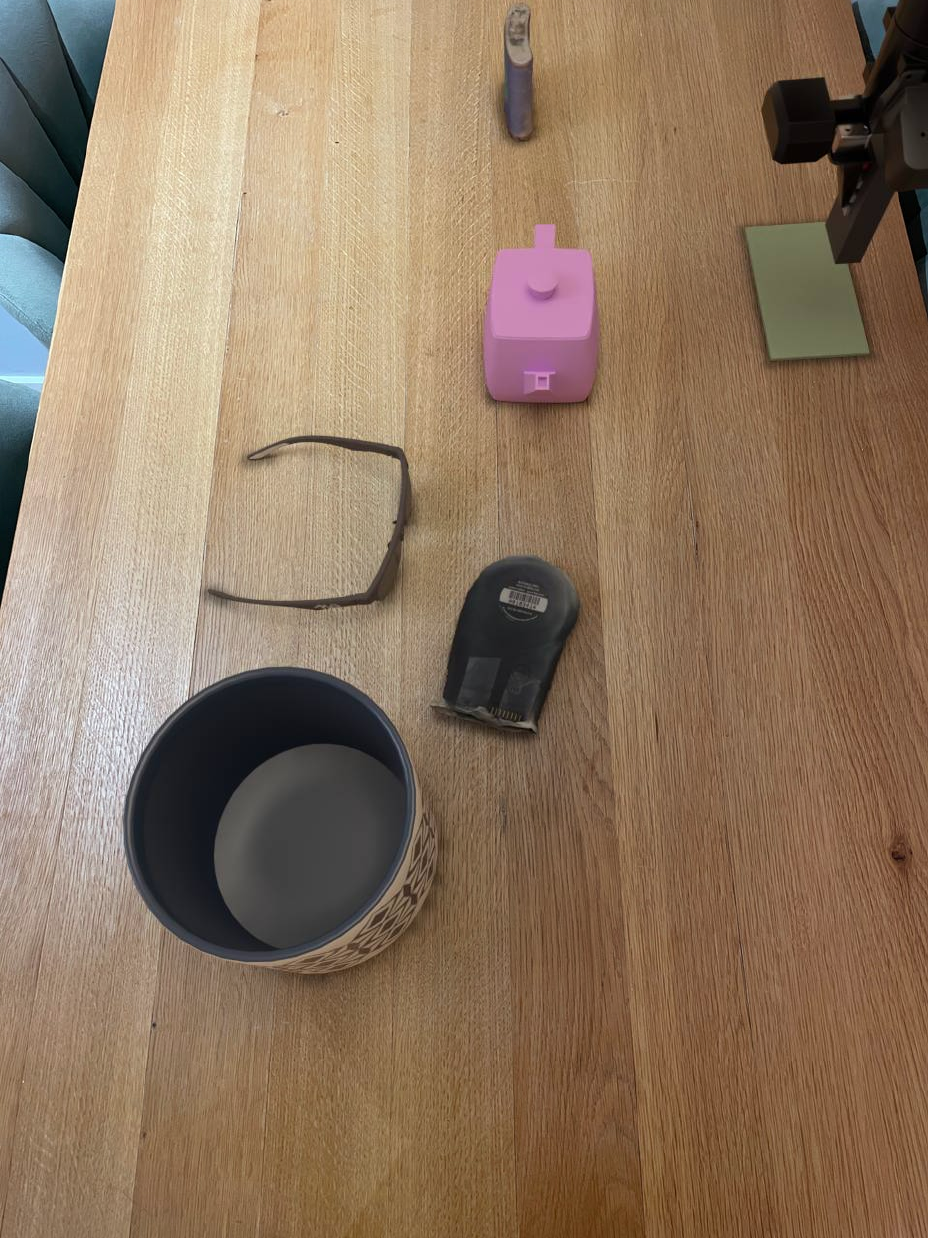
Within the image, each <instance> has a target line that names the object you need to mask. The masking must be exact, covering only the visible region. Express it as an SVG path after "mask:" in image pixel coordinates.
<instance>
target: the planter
mask: <svg viewBox="0 0 928 1238" xmlns="http://www.w3.org/2000/svg"><path fill="white" fill-rule="evenodd" d="M136 763H137V764H136V766H135V768H134V770H133V773H132V775H131V779H130V782H129V784H128V789H127V793H126V795H125V801H124V802H125V803H124V811H123V817H122V835H123V848H124V854H125V858H126V864H127V868H128V871H129V875H130V876H131V878H132V882H133V884H134V887H135V890H136V891H137V892H138V894H139V896H140V898H141V899H142V902H143V903H144V905H145V906H146V908H147V910H148V911H149V912H150V913H151V915H153V917H154V918H155V919H156V920H157V921H158V923H160V925H161V926H162V927H163V928H164V929H166V930H167V931H168V932H169V933H170V934H171V935H173V936H174V937H176V938H177V940H179V941H180V942H182V943H183V944H186V945H188V946H189V947H191V948H193V949H194V950H197V951H199V952H200V953H203V954H205V955H208V956H212V957H214V958H218V959H220V960H222V961H223V960H224V961H228V962H231V963H237V964H243V965H248V966H253V967H259V968H265V969H272V970H278V971H282V972H283V971H284V972H290V973H296V974H297V973H298V974H304V975H305V974H326V973H332V972H338V971H342V970H346V969H348V968H351V967H354V966H358V965H360V964H362V963H364V962H366V961H367V960H369V959H371V958H373V957H375V956H376V955H378V954H380V953H381V952H383V951H384V950H385V949H387V948H388V947H389V946H390V945H391V944H393V943H394V942H395V941H396V940H397V939H398V938H399V937H401V935H402V934H403V933H404V932H405V931H406V930H407V929H408V928H409V927H410V925H411V924H412V922H413V921H414V920H415V918H416V916H417V915H418V913H419V912H420V911H421V909H422V907H423V905H424V903H425V900H426V899H427V897H428V895H429V892H430V890H431V886H432V883H433V880H434V876H435V875H436V868H437V861H438V855H439V853H438V852H439V851H438V850H439V845H438V843H439V842H438V841H439V839H438V838H439V836H438V835H439V834H438V828H437V822H436V817H435V816H436V815H435V812H434V809H433V806H432V803H431V800H430V797H429V794H428V793H427V790H426V787H425V785H424V783H423V781H422V778H421V775H420V773H419V770H418V769H417V766H416V764H415V762H414V759H413V757H412V755H411V753H410V751H409V748H408V746H407V745H406V743H405V741H404V739H403V737H402V735H401V733H400V731H399V729H398V728H397V726H396V725H395V723H394V722H393V720H392V719H391V717H390V716H389V715H388V714H387V712H386V711H385V710H384V709H383V708H382V707H381V705H379V704H378V703H377V702H376V701H375V700H374V699H373V698H372V697H371V696H369V695H368V694H367V693H366V692H364V691H363V690H361V689H360V688H358V687H357V686H355V685H354V684H352V683H350V682H348V681H347V680H344V679H342V678H340V677H338V676H335V675H334V674H332V673H327V672H324V671H321V670H317V669H313V668H307V667H299V666H291V665H287V666H285V665H284V666H265V667H260V668H254V669H249V670H244V671H242V672H239V673H235V674H233V675H229V676H227V677H223V678H222V679H219V680H218V681H216V682H214V683H212V684H210V685H208V686H206V687H204V688H203V689H201V690H200V691H198V692H196V693H195V694H193V695H192V696H190V697H189V698H188V699H186V700H185V701H184V702H183V703H182V704H181V705H179V707H177V709H175V710H174V711H173V712H172V713H171V714H170V715H169V716H168V717H167V718H166V719H165V720H164V721H163V723H162V724H161V725H160V726H159V728H158V729H157V730H156V731H155V732H154V734H153V735H152V737H151V738H150V740H149V741H148V743H147V745H146V746H145V748H144V749H143V751H142V752H141V754H140V757H139V759H138V761H137V762H136Z"/></svg>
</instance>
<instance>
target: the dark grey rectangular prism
mask: <svg viewBox="0 0 928 1238" xmlns="http://www.w3.org/2000/svg"><path fill="white" fill-rule="evenodd" d="M883 136H884V133H883V134H873V135H872V136H871V138H870V140H869V142H868V147H869V151H870V154H871V158H872V163H869V164H864V165H863V167H862V170H861V173H860V176H859V179H858V181H857V184H856V187H855V190H854V192H853V195H852V197H851V199H850V201H849V203H848V205H847V206H846V207H845V208H841V207H840V203H839V199H838V194H837V195H836V197H835V200H834V202H833V205H832V207H831V209H830V211H829V214H828V216H827V219H826V221H825V222H826V223H825V226H826V230H827V234H828V238H829V242H830V246H831V250H832V254H833V258H834V263H835V264H848V265H849V264H861V262H862V260H863V258H864V256H865V254H866V253H867V250H868V248H869V246H870V244H871V242H872V240H873V238H874V236H875V234H876V232H877V230H878V227H879V225H880V223H881V221H882V219H883V217H884V215H885V213H886V211H887V209H888V207H889V206H890V203H891V201H892V199H893V197H894V195H895V194H896V192H895V191H893V190H891V189H890V188H889V187H888V186H887V184H886V181H885V170H886V168H885V155H884V142H883Z"/></svg>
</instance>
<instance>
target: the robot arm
mask: <svg viewBox="0 0 928 1238" xmlns="http://www.w3.org/2000/svg"><path fill="white" fill-rule="evenodd" d="M882 25H883V28H884V31H885V35H884V38H883V39H882V43H881V46H880V48H879V51H878V53H877V56H876V59H875V61H867V62H866V63H865V66H864V68H863V71H862V72H861V73H862V74H861V76H862V80H863V82H864V83H863V84H864V86H865V87H864V90H863V92H862V93H853V94H841V95H839V96H838V97H837V99H831V96H830V92H829V89H828V85H827V82H826V78H825V77H824V76H821V77H808V78H806V77H805V78H794V79H792V78H791V79H780V80H776V81H774V82H773V83H772V84H771V85H770V86H769V87H768V88H767V90H766V92H765V95H764V99H763V102H762V105H761V109H760V112H761V116H762V122H763V125H764V129H765V134H766V138H767V139H766V140H767V142H768V146H769V152H770V156H771V160H772V161H774V162H775V163H778V164H779V165H781V166H782V165H795V164H809V163H810V164H811V163H817V162H819V161H820V160H821V159H823V158H825V157H826V156H827V159H828V161H829V163H831V164H832V165H833V166H835V167H836V176H837V177H836V178H837V195H838V199H839V203H840V207H841V208H845V207H846V206H847V205H848V203H849V201H850V199H851V197H852V195H853V192H854V190H855V187H856V184H857V181H858V179H859V176H860V173H861V170H862V167H863V165H864V164H869V163H872V158H871V154H870V151H869V147H868V142H869V140H870V138H871V136H872V135H873V134H883V133H884V136H883V142H884V155H885V168H886V170H885V181H886V184H887V186H888V187H889V188H890V189H891V190H893V191H895V193H896V192H897V193H905V192H909V191H915V190H928V0H898V2H897V4H896V5H894V6H887V7H886V9H885V13H884V15H883V18H882Z"/></svg>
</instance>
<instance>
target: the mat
mask: <svg viewBox="0 0 928 1238" xmlns="http://www.w3.org/2000/svg"><path fill="white" fill-rule="evenodd" d="M825 223H826V221H816V222H802V223H800V222H799V223H786V224H775V225H774V224H772V225H756V226H745V228H744V233H745V238H746V239H745V240H746V245H747V250H748V254H749V260H750V265H751V269H752V270H751V271H752V275H753V280H754V285H755V290H756V296H757V301H758V307H759V310H760V315H761V321H762V324H763V325H762V327H763V331H764V336H765V341H766V346H767V352H768V357H769V361H770V362H779V361H780V362H782V361H797V360H799V361H800V360H813V359H830V358H831V359H832V358H846V357H847V358H848V357H861V356H862V357H863V356H869V355H870V347H869V343H868V340H867V336H866V332H865V328H864V324H863V320H862V316H861V311H860V308H859V302H858V299H857V295H856V291H855V288H854V283H853V279H852V275H851V271H850V267H849V264H835V263H834V258H833V254H832V250H831V246H830V242H829V238H828V234H827V230H826V226H825Z"/></svg>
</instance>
